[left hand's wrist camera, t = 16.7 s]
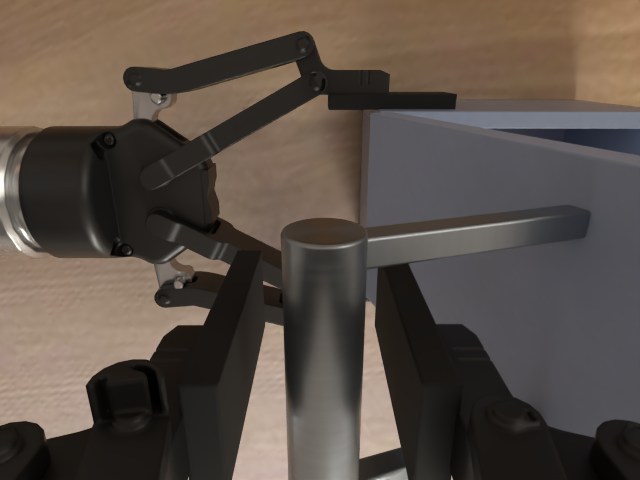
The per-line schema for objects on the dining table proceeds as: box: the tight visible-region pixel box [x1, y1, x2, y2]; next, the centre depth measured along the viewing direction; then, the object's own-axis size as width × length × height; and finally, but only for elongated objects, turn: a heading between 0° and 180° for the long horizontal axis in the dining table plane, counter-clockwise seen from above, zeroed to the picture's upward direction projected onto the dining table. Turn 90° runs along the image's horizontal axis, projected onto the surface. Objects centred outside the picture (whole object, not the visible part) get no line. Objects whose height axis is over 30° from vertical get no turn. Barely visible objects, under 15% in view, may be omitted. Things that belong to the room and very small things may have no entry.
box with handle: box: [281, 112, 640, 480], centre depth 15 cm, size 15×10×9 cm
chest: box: [359, 100, 640, 228], centre depth 28 cm, size 15×10×9 cm, turn 90°
